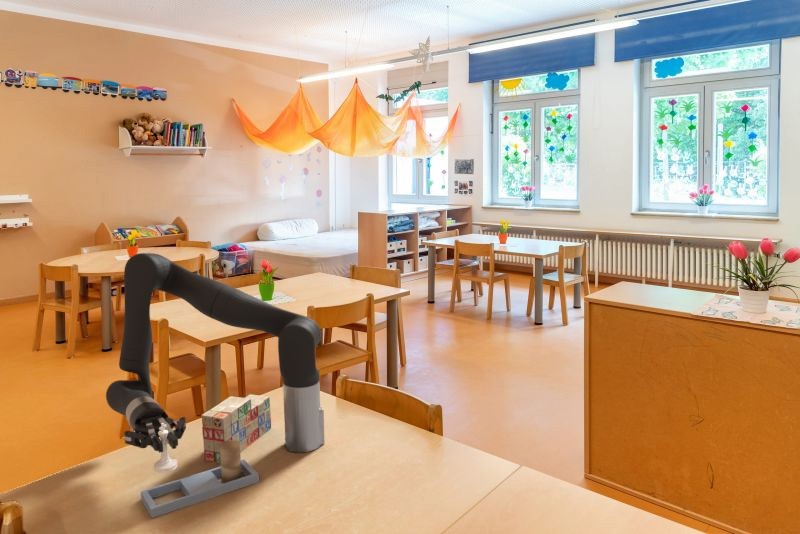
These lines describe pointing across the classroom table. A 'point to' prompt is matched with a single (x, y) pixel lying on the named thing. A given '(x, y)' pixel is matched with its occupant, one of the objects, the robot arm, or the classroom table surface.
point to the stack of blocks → (235, 423)
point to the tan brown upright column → (230, 460)
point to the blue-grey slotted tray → (196, 489)
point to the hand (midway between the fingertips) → (167, 446)
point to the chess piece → (164, 454)
